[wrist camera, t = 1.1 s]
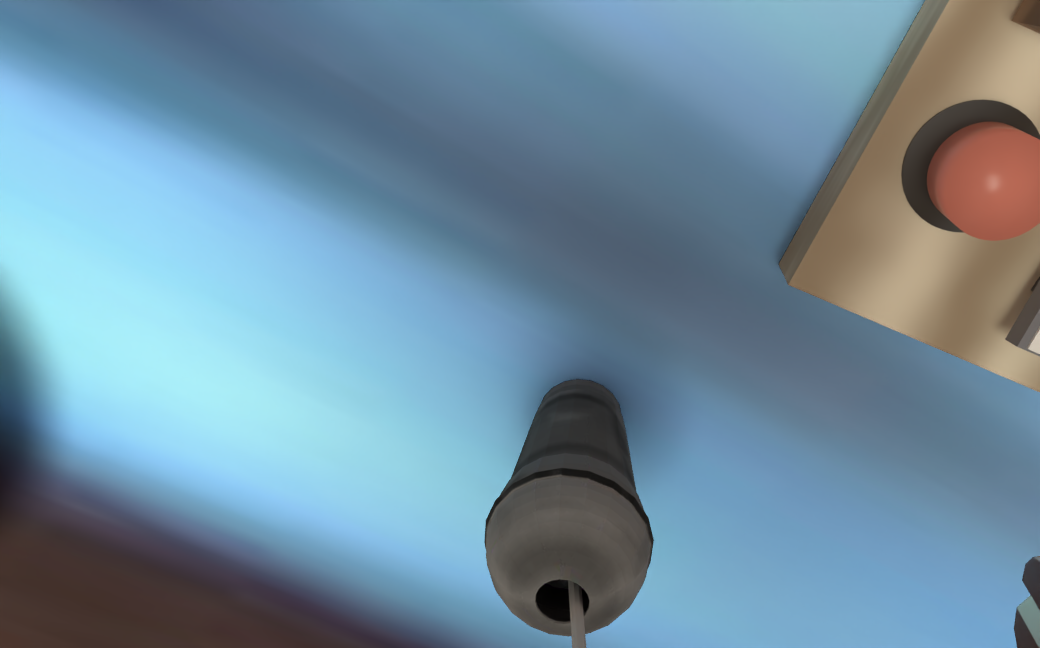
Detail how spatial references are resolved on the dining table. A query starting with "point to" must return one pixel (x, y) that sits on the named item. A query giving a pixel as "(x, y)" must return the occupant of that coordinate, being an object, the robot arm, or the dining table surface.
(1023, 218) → the brick-red push button
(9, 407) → the dining table surface
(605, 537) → the beverage cup
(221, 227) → the dining table surface
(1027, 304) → the charcoal rocker switch
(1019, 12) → the walnut slider knob
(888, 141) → the control board
